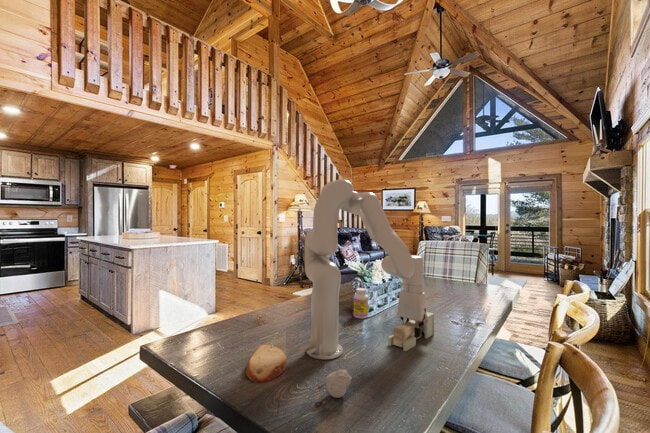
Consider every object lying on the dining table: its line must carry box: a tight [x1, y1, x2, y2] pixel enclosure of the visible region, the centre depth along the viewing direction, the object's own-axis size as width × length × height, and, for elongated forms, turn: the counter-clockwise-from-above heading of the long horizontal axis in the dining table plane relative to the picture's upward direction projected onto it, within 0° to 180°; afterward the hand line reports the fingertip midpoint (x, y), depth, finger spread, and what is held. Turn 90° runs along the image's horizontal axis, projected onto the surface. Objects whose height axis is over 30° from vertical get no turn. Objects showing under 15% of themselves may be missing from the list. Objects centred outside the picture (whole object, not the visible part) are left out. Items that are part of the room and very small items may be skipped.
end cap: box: [410, 311, 435, 339], centre depth 124 cm, size 6×7×8 cm
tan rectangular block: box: [392, 319, 422, 348], centre depth 116 cm, size 14×4×6 cm, turn 135°
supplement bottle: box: [353, 287, 369, 320], centre depth 144 cm, size 7×7×13 cm
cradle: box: [387, 333, 417, 352], centre depth 113 cm, size 7×7×3 cm
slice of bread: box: [245, 344, 288, 384], centre depth 98 cm, size 18×18×4 cm
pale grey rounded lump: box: [325, 369, 352, 399], centre depth 81 cm, size 6×7×7 cm
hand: (412, 335), depth 118 cm, fingers closed on tan rectangular block, 3 cm apart
